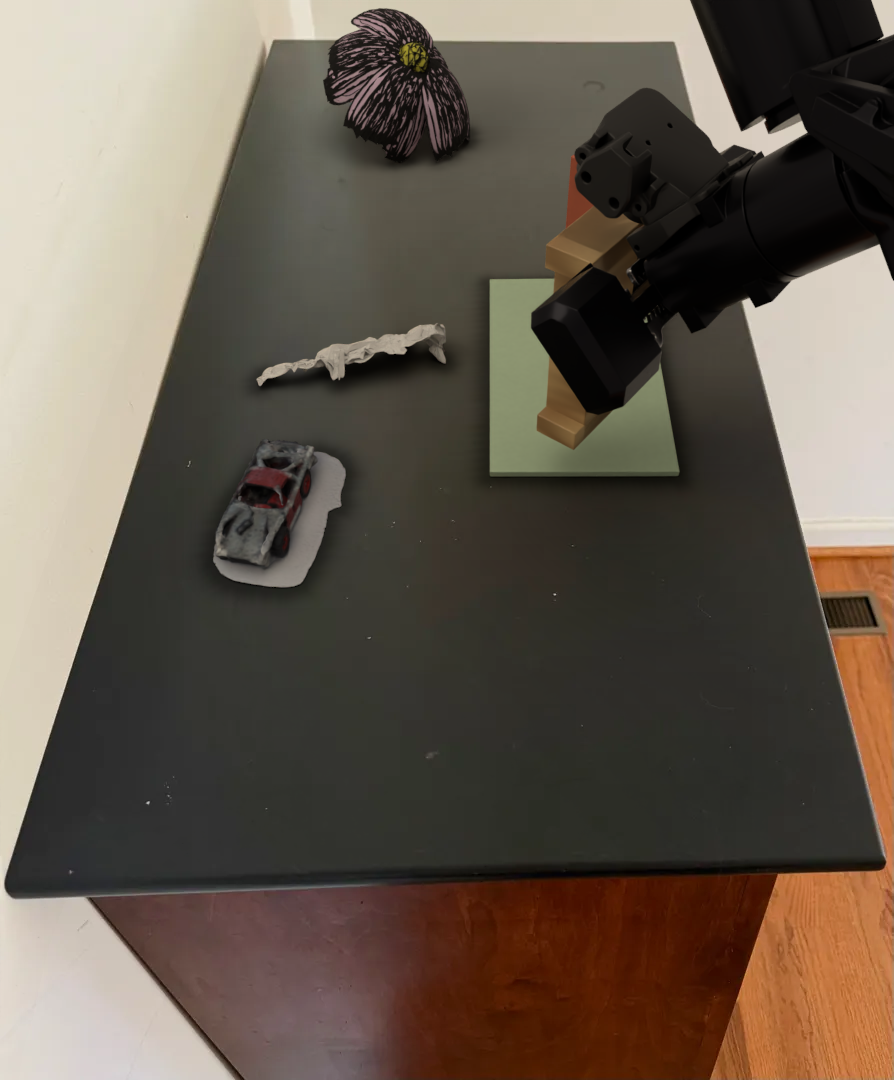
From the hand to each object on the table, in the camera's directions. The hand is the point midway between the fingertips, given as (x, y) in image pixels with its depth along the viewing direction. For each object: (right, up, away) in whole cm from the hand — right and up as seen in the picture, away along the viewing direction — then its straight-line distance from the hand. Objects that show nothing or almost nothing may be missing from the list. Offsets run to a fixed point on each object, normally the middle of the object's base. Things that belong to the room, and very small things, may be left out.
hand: (571, 320), depth 55 cm
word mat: (+2, 0, +14) cm, 14 cm away
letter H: (+5, +5, +18) cm, 19 cm away
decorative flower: (-12, +28, +37) cm, 48 cm away
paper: (-15, 0, +15) cm, 21 cm away
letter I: (+1, -5, +5) cm, 7 cm away
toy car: (-19, -12, +6) cm, 23 cm away
